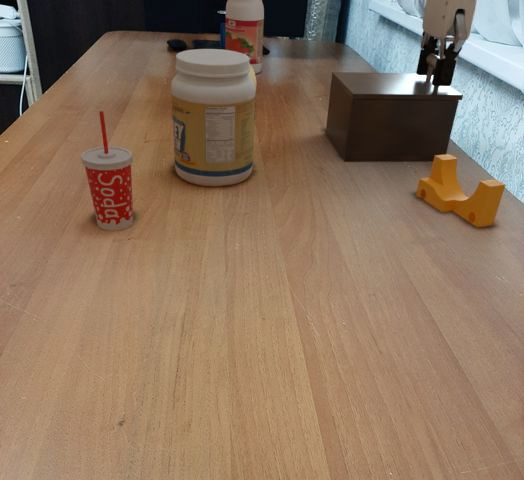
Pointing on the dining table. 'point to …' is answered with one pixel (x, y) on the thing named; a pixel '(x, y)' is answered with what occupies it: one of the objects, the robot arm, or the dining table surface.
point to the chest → (388, 127)
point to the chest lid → (395, 85)
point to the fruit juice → (246, 29)
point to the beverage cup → (110, 183)
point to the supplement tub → (213, 117)
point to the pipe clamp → (460, 193)
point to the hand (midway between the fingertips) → (433, 79)
